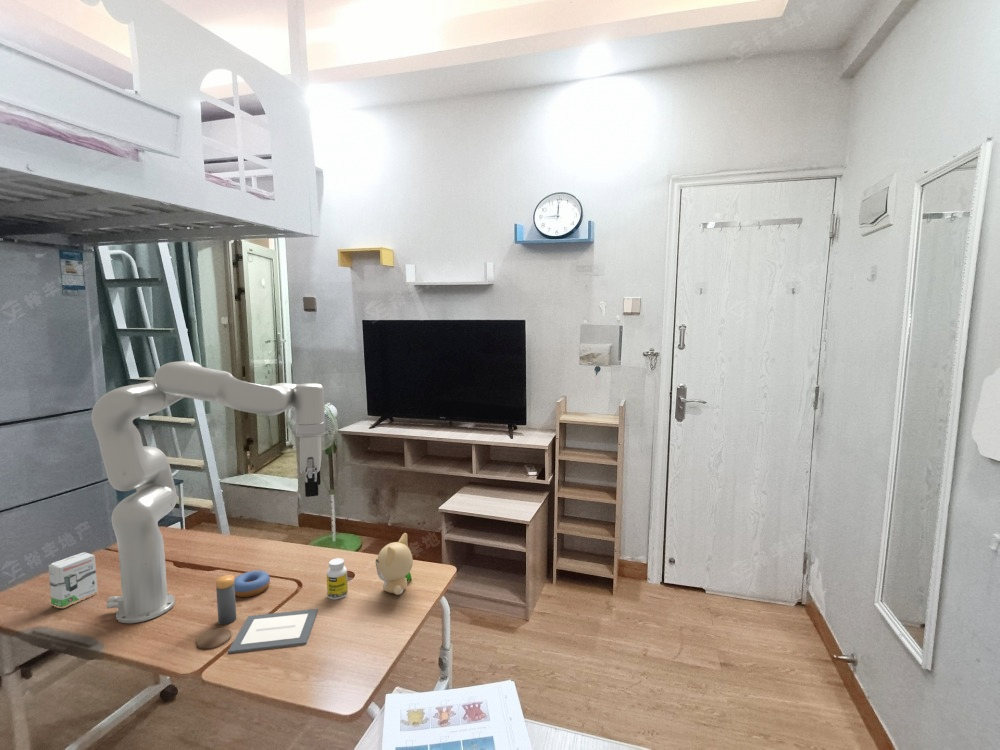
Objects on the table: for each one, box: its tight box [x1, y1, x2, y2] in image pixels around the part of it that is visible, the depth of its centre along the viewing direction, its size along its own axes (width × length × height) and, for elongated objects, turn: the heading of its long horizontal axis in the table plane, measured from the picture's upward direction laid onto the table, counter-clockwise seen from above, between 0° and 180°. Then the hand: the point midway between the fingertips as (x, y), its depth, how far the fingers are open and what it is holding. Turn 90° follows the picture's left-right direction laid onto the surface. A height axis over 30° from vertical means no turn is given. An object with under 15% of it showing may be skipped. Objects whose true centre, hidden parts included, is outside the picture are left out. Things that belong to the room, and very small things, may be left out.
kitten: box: [375, 532, 414, 596], centre depth 136 cm, size 15×10×15 cm, turn 164°
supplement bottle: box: [326, 557, 349, 600], centre depth 134 cm, size 5×5×10 cm
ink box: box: [48, 551, 98, 607], centre depth 132 cm, size 9×5×12 cm, turn 159°
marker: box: [215, 574, 237, 626], centre depth 122 cm, size 4×4×11 cm
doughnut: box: [234, 570, 271, 598], centre depth 137 cm, size 10×10×5 cm
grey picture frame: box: [227, 608, 319, 654], centre depth 118 cm, size 17×14×1 cm
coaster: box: [197, 627, 233, 650], centre depth 115 cm, size 7×7×1 cm
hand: (313, 490), depth 132 cm, fingers open, 9 cm apart
